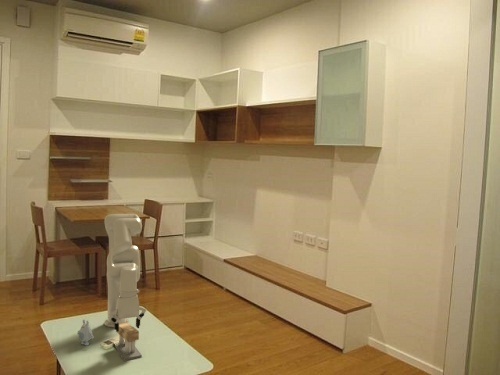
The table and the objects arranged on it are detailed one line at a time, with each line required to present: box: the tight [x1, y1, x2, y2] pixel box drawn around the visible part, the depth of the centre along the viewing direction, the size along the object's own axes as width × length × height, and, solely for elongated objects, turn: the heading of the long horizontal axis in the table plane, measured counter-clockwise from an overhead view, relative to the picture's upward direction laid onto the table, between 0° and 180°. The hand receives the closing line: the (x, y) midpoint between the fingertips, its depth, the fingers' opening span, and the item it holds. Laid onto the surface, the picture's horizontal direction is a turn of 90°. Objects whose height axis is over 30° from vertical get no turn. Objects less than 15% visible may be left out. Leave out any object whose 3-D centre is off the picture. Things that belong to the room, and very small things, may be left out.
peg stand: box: [114, 334, 143, 362], centre depth 207 cm, size 20×8×7 cm, turn 31°
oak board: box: [115, 322, 140, 342], centre depth 207 cm, size 14×5×4 cm, turn 40°
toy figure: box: [76, 319, 94, 346], centre depth 211 cm, size 11×6×12 cm, turn 63°
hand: (127, 329), depth 207 cm, fingers open, 9 cm apart
